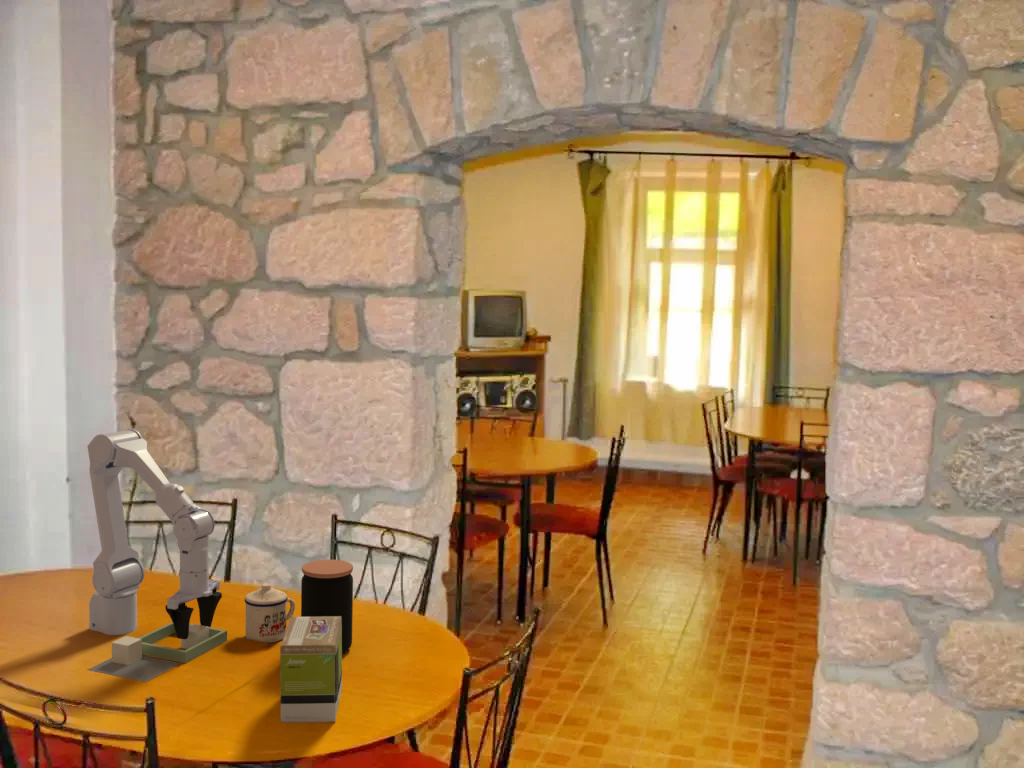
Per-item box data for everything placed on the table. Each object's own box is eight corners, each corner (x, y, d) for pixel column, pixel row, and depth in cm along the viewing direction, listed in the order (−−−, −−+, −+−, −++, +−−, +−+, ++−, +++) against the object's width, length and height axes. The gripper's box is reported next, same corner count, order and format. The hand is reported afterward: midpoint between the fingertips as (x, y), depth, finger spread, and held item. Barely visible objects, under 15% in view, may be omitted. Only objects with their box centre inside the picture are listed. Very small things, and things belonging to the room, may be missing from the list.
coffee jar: (361, 645, 220) (363, 564, 217) (332, 662, 210) (334, 577, 208) (320, 636, 224) (321, 556, 222) (290, 652, 214) (291, 569, 212)
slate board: (87, 673, 200) (87, 669, 200) (123, 655, 210) (123, 652, 210) (145, 685, 195) (145, 681, 195) (179, 667, 205) (179, 663, 205)
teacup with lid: (260, 647, 217) (261, 594, 215) (235, 636, 223) (236, 584, 221) (306, 633, 226) (307, 582, 224) (281, 623, 232) (281, 573, 230)
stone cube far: (180, 648, 213) (180, 629, 213) (193, 642, 217) (193, 623, 216) (196, 651, 212) (196, 632, 211) (209, 645, 215) (208, 626, 215)
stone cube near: (112, 661, 204) (111, 642, 204) (126, 654, 208) (125, 636, 208) (128, 665, 203) (127, 645, 203) (142, 658, 207) (141, 639, 206)
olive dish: (130, 655, 210) (130, 641, 210) (174, 634, 223) (174, 620, 222) (185, 666, 205) (185, 652, 205) (227, 644, 218) (227, 630, 217)
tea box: (290, 688, 197) (290, 614, 195) (342, 688, 197) (344, 614, 196) (278, 723, 182) (279, 643, 180) (336, 723, 183) (337, 643, 181)
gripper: (187, 581, 204) (187, 647, 206) (231, 562, 218) (231, 624, 219) (158, 576, 207) (158, 641, 208) (204, 558, 220) (204, 619, 222)
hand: (194, 632), depth 214 cm, fingers open, 7 cm apart
